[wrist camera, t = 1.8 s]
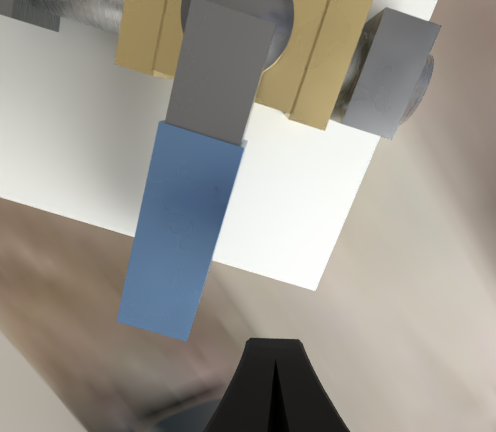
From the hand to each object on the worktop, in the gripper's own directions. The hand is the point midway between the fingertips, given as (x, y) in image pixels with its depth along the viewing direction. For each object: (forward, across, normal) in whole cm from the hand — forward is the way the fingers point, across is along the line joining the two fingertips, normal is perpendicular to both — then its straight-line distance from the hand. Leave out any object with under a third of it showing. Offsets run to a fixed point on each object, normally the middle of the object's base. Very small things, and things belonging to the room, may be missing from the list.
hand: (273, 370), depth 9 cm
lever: (+6, +3, -5) cm, 8 cm away
